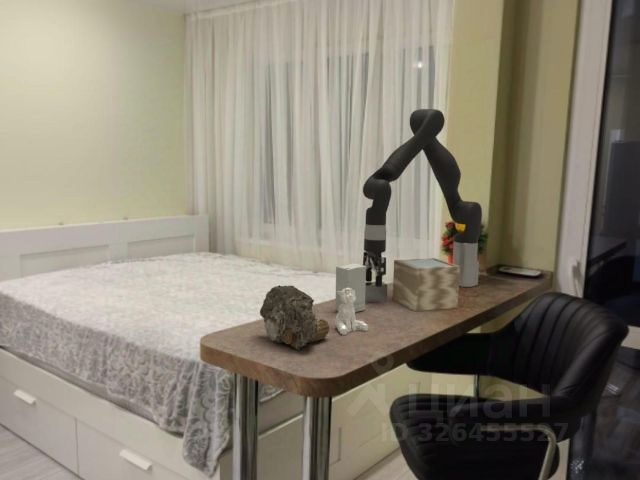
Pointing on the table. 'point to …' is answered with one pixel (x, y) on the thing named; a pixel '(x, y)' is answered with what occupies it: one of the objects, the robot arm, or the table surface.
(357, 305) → the skincare box
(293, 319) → the rock
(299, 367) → the table surface
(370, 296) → the metal brick
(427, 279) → the hatch box
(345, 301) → the seated beast figurine
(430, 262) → the hatch door
